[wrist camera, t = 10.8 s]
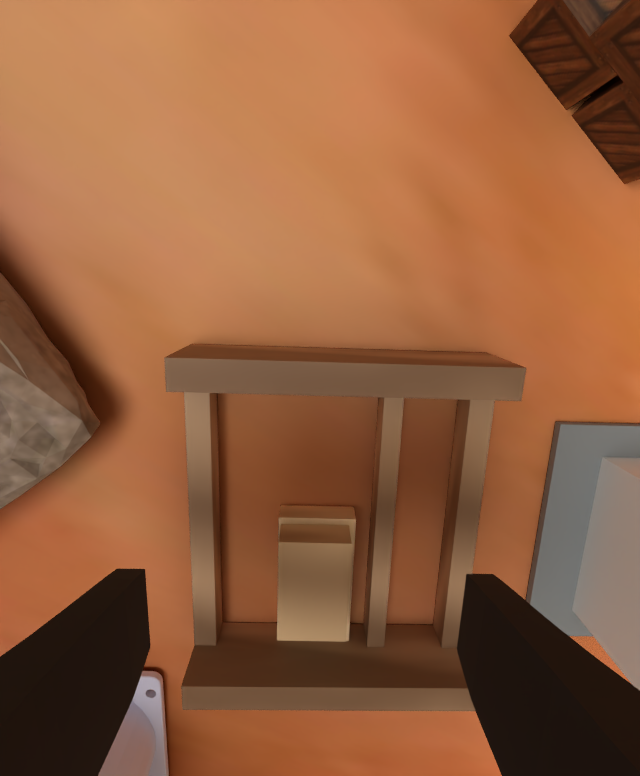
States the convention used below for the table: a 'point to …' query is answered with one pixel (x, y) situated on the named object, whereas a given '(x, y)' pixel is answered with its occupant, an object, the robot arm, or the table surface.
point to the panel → (614, 566)
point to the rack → (374, 637)
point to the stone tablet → (35, 401)
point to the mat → (571, 513)
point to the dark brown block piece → (591, 69)
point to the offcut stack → (315, 572)
